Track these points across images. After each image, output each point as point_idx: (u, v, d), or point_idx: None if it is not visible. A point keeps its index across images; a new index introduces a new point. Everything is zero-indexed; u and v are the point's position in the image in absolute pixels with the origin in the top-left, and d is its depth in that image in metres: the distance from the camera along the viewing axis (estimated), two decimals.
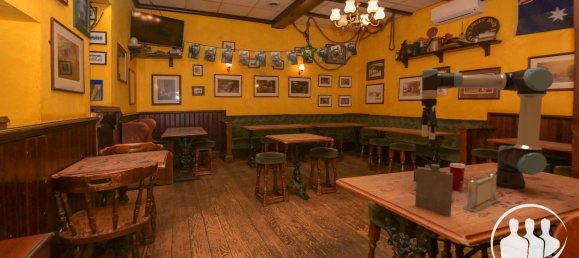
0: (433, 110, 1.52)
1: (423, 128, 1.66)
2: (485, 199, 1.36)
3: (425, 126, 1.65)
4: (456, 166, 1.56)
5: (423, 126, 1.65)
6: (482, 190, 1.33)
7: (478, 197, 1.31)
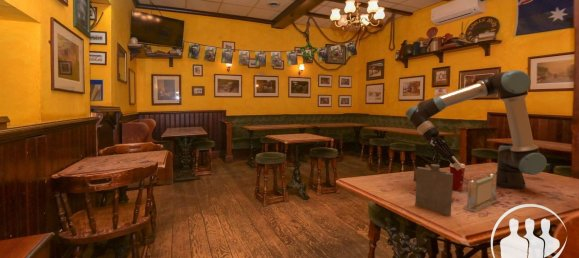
0: (434, 144, 1.46)
1: None
2: (485, 199, 1.36)
3: None
4: None
5: None
6: (482, 190, 1.33)
7: (478, 197, 1.31)
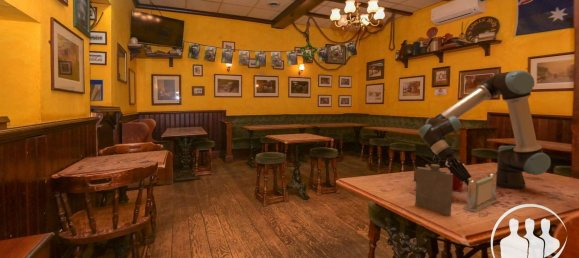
0: (449, 166, 1.40)
1: None
2: (485, 199, 1.36)
3: None
4: None
5: None
6: (483, 191, 1.33)
7: (479, 197, 1.31)
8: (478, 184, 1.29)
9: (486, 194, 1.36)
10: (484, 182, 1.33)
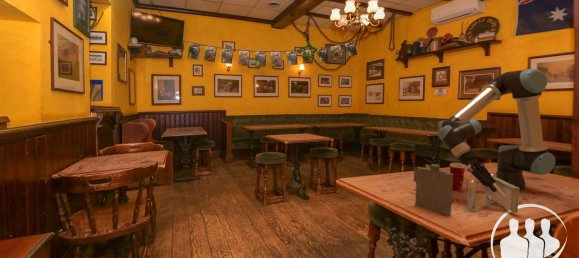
0: (472, 170, 1.32)
1: None
2: None
3: None
4: (456, 166, 1.56)
5: None
6: None
7: None
8: None
9: None
10: None
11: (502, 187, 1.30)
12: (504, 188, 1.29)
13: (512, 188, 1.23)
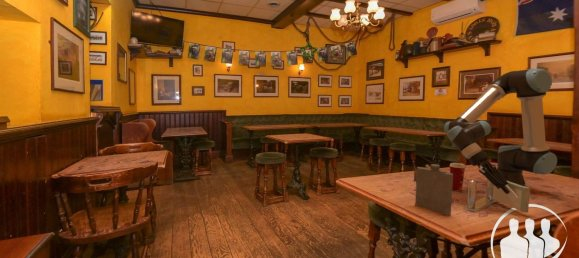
0: (484, 171, 1.29)
1: None
2: None
3: None
4: (456, 166, 1.56)
5: None
6: None
7: None
8: None
9: None
10: None
11: None
12: (511, 188, 1.29)
13: (523, 188, 1.22)
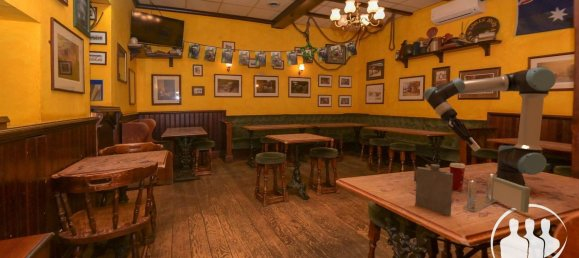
0: (452, 125, 1.46)
1: None
2: None
3: None
4: (456, 166, 1.56)
5: None
6: None
7: None
8: None
9: None
10: None
11: (508, 187, 1.30)
12: (511, 188, 1.29)
13: (523, 188, 1.22)
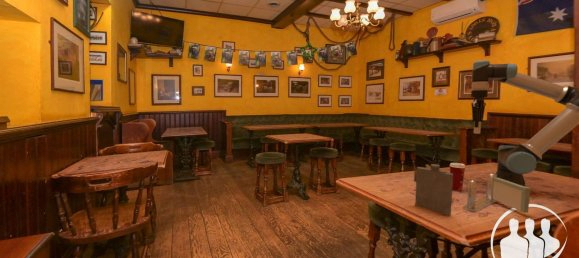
0: (474, 106, 1.56)
1: None
2: None
3: None
4: (456, 166, 1.56)
5: None
6: None
7: None
8: None
9: None
10: None
11: (508, 187, 1.30)
12: (511, 188, 1.29)
13: (523, 188, 1.22)
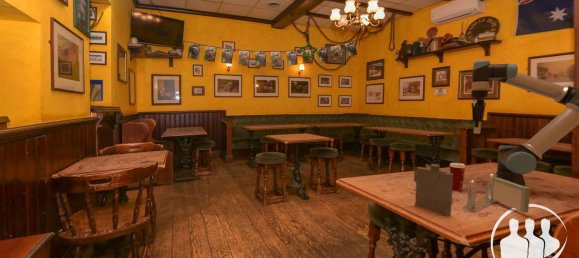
0: (474, 106, 1.56)
1: None
2: None
3: None
4: (456, 166, 1.56)
5: None
6: None
7: None
8: None
9: None
10: None
11: (508, 187, 1.30)
12: (511, 188, 1.29)
13: (523, 188, 1.22)
